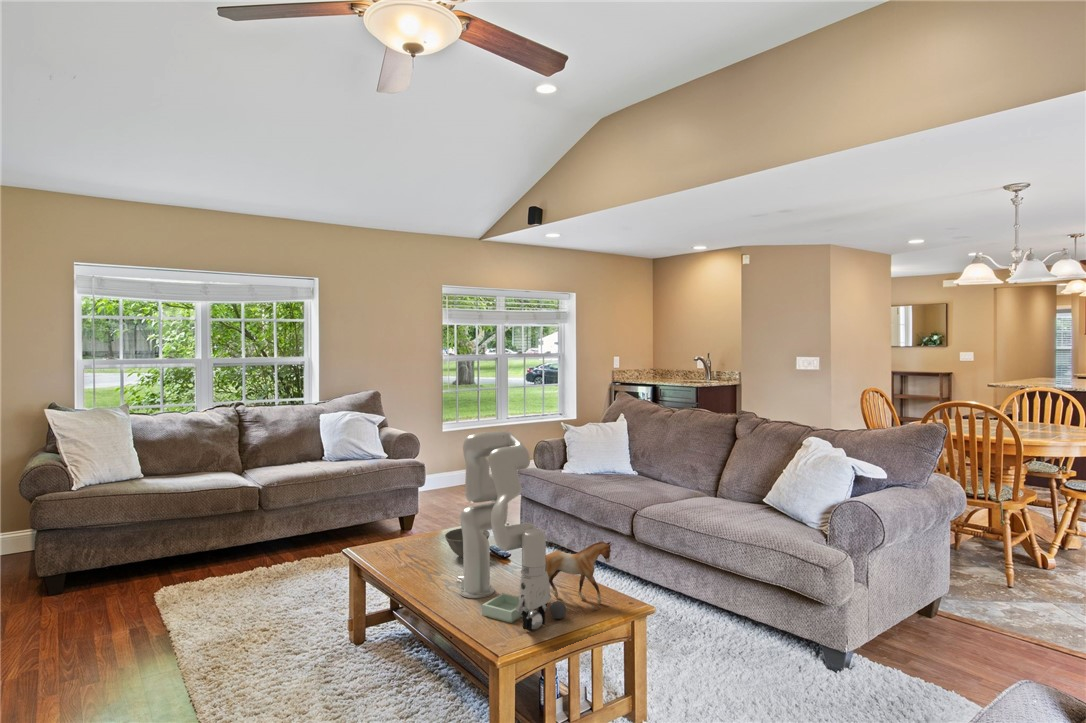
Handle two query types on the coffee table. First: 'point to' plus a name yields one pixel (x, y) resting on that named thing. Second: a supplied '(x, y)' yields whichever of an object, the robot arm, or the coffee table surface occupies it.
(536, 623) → the steel ball
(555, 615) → the rubber ball
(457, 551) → the bowl
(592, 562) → the horse figurine
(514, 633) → the coffee table surface
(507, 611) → the tray
